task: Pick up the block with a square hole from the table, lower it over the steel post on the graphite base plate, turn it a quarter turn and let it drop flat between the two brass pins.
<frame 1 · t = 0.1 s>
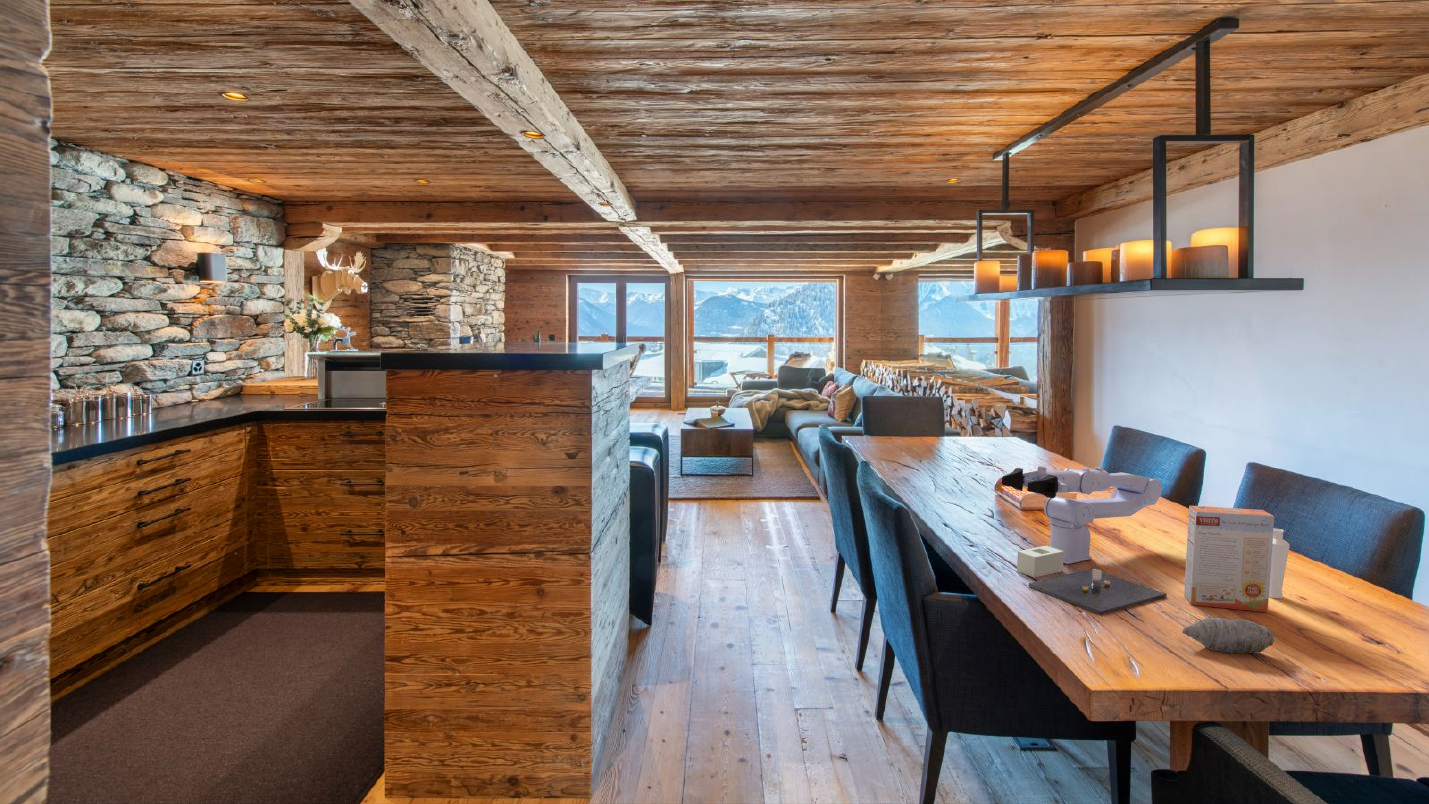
hand: (1015, 483, 173), 22 cm above the table, fingers open, 7 cm apart
cracker box: (1223, 605, 153), on the table
block with square hole: (1039, 571, 174), on the table
white plastic bottle: (1273, 596, 157), on the table
seashell: (1226, 652, 131), on the table
stand: (1095, 591, 160), on the table
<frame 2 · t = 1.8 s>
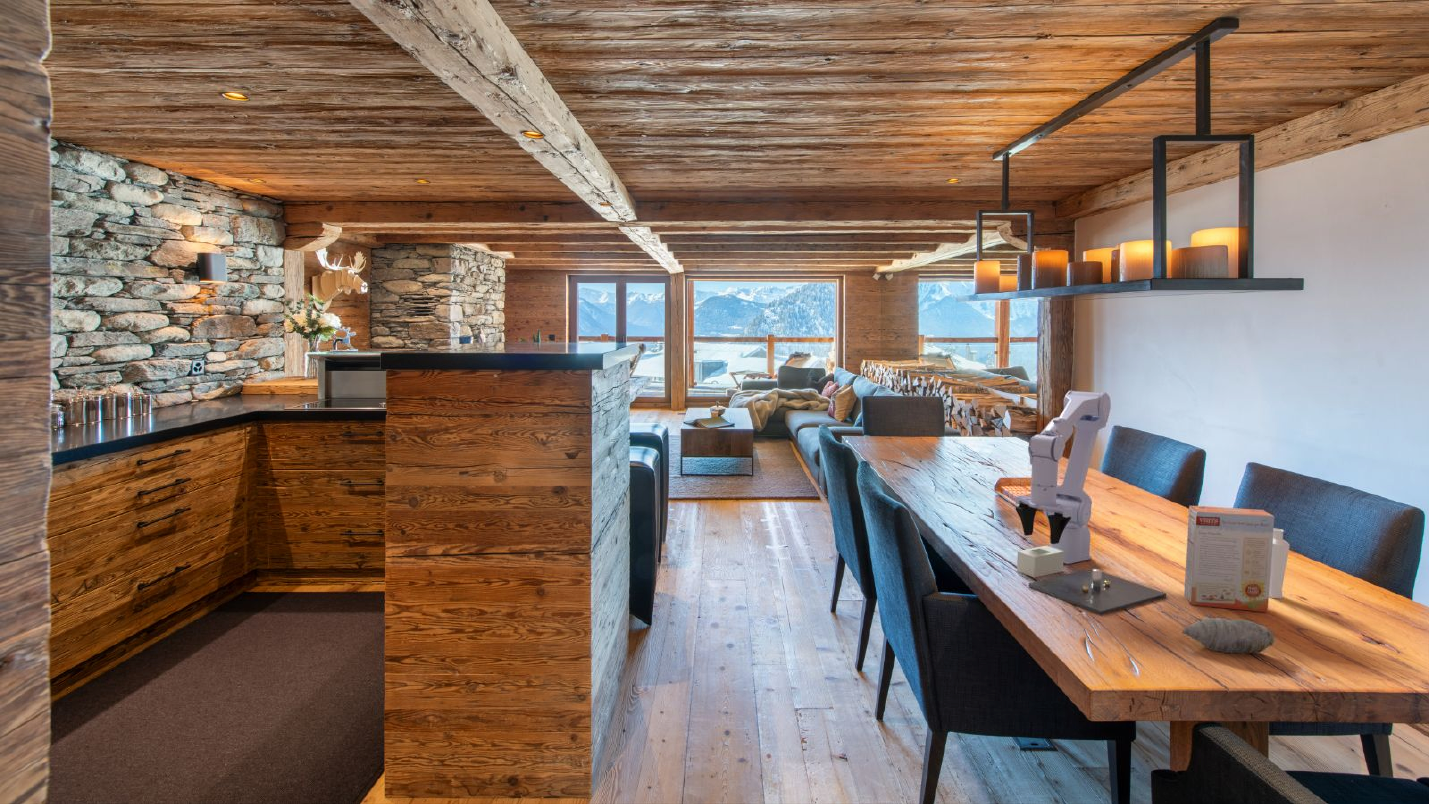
hand: (1041, 539, 173), 8 cm above the table, fingers open, 7 cm apart
nothing on the table moved.
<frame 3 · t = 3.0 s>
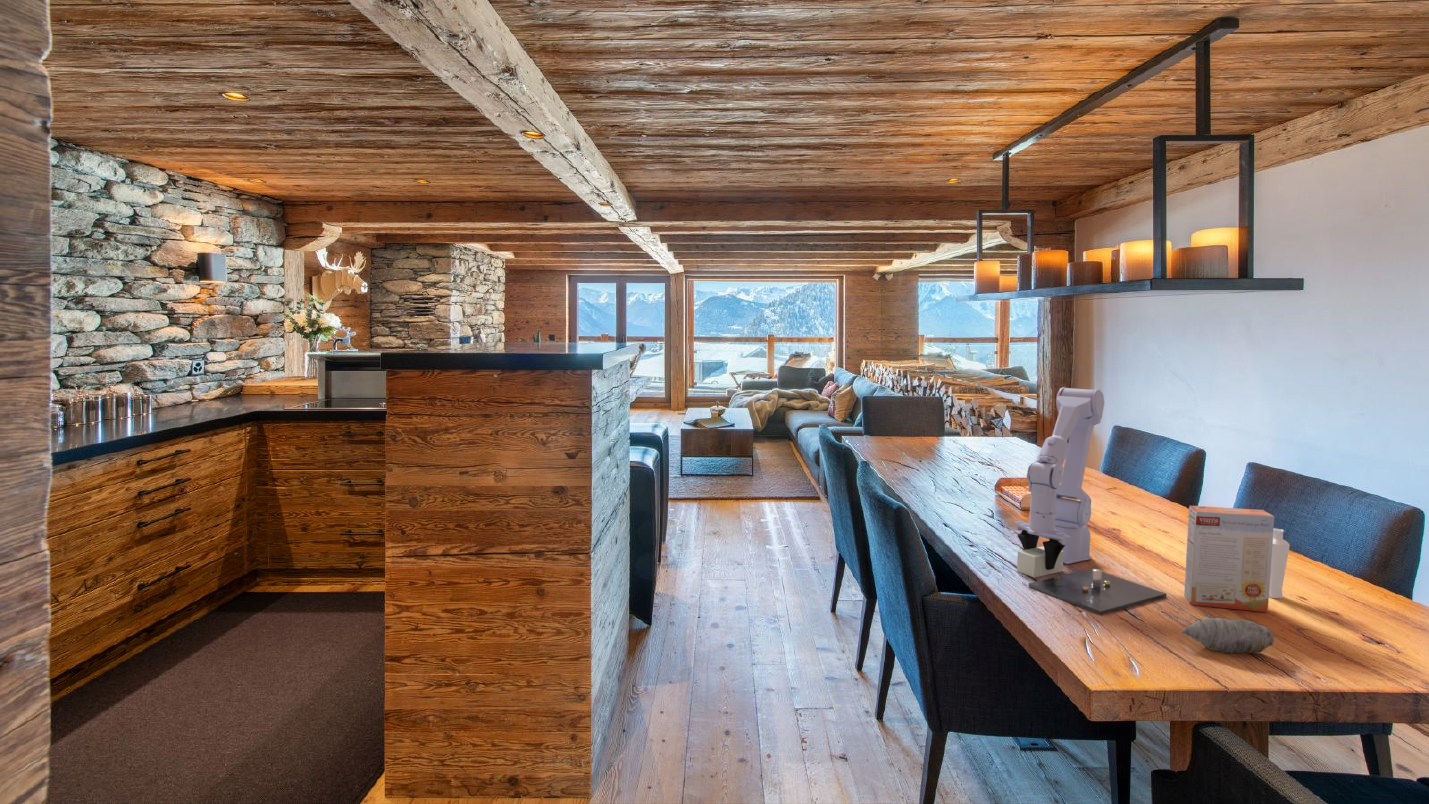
hand: (1040, 565, 173), 1 cm above the table, fingers closed on block with square hole, 5 cm apart
block with square hole: (1039, 571, 174), on the table, touching gripper
everything else where it was.
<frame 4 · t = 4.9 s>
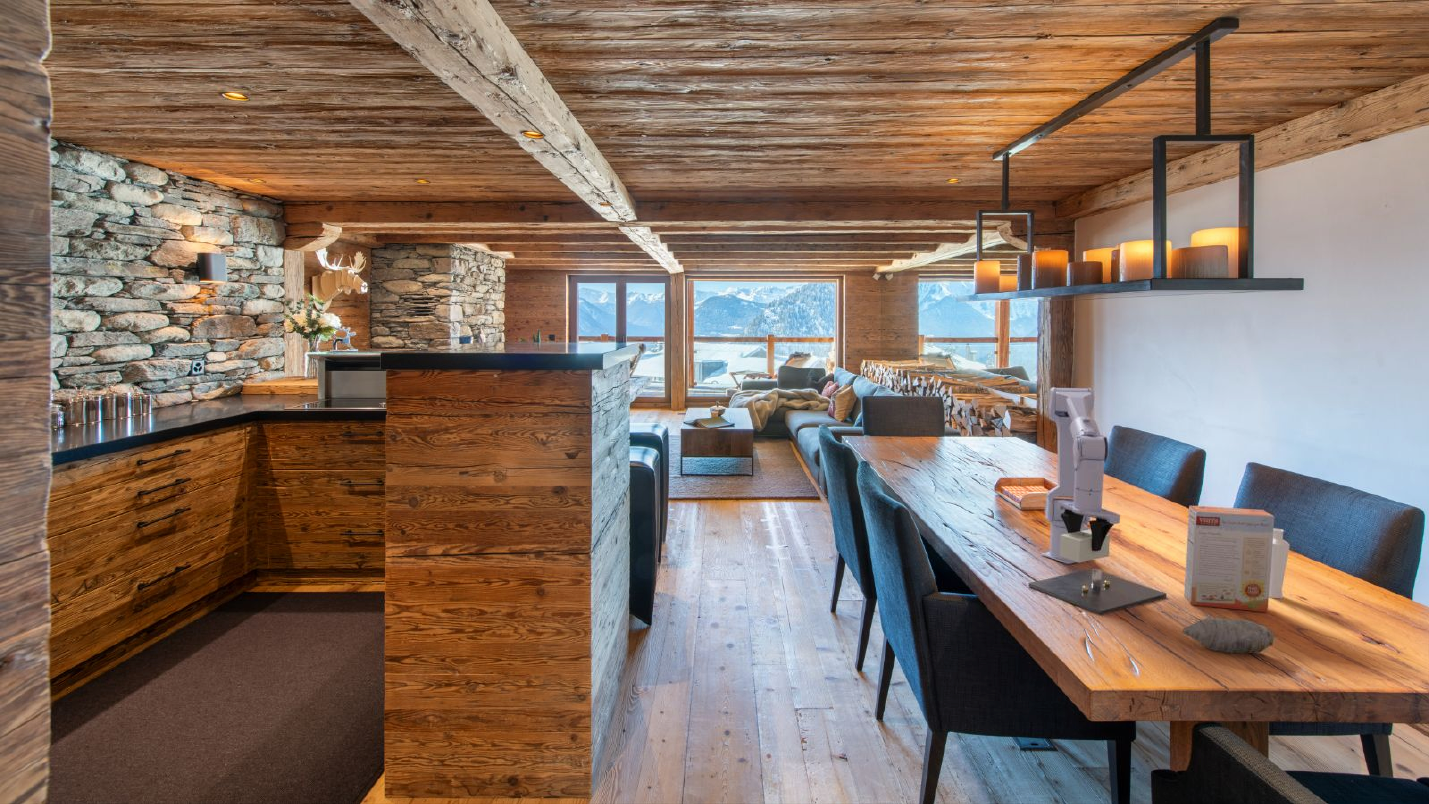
hand: (1085, 547, 162), 10 cm above the table, fingers closed on block with square hole, 5 cm apart
block with square hole: (1084, 556, 162), point 7 cm above the table, touching gripper
everything else where it was.
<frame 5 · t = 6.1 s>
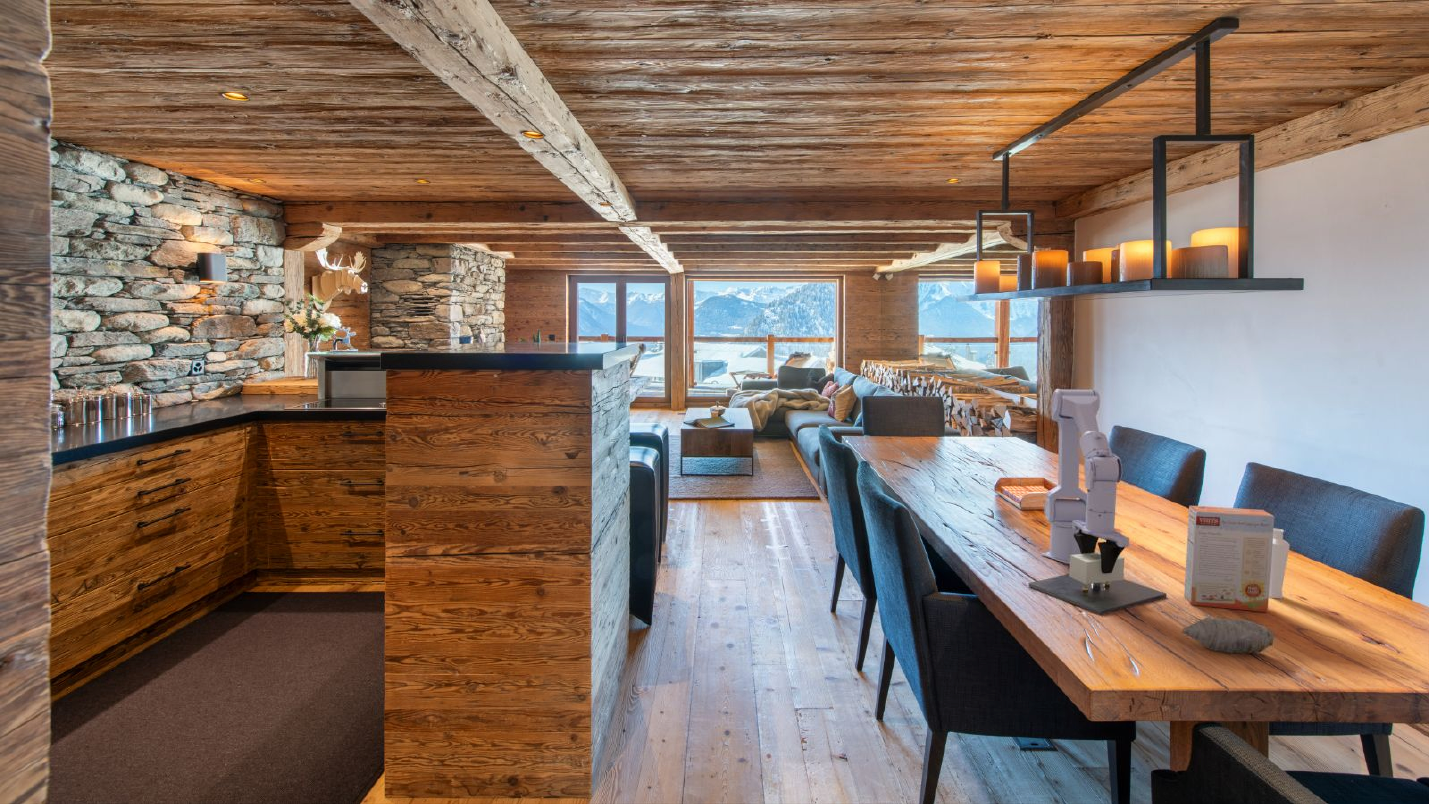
hand: (1097, 568, 160), 5 cm above the table, fingers closed on block with square hole, 5 cm apart
block with square hole: (1095, 578, 160), point 3 cm above the table, touching gripper
everything else where it was.
when the fingers open (4 cm above the table, at t = 7.0 s): block with square hole stays where it is, resting on stand.
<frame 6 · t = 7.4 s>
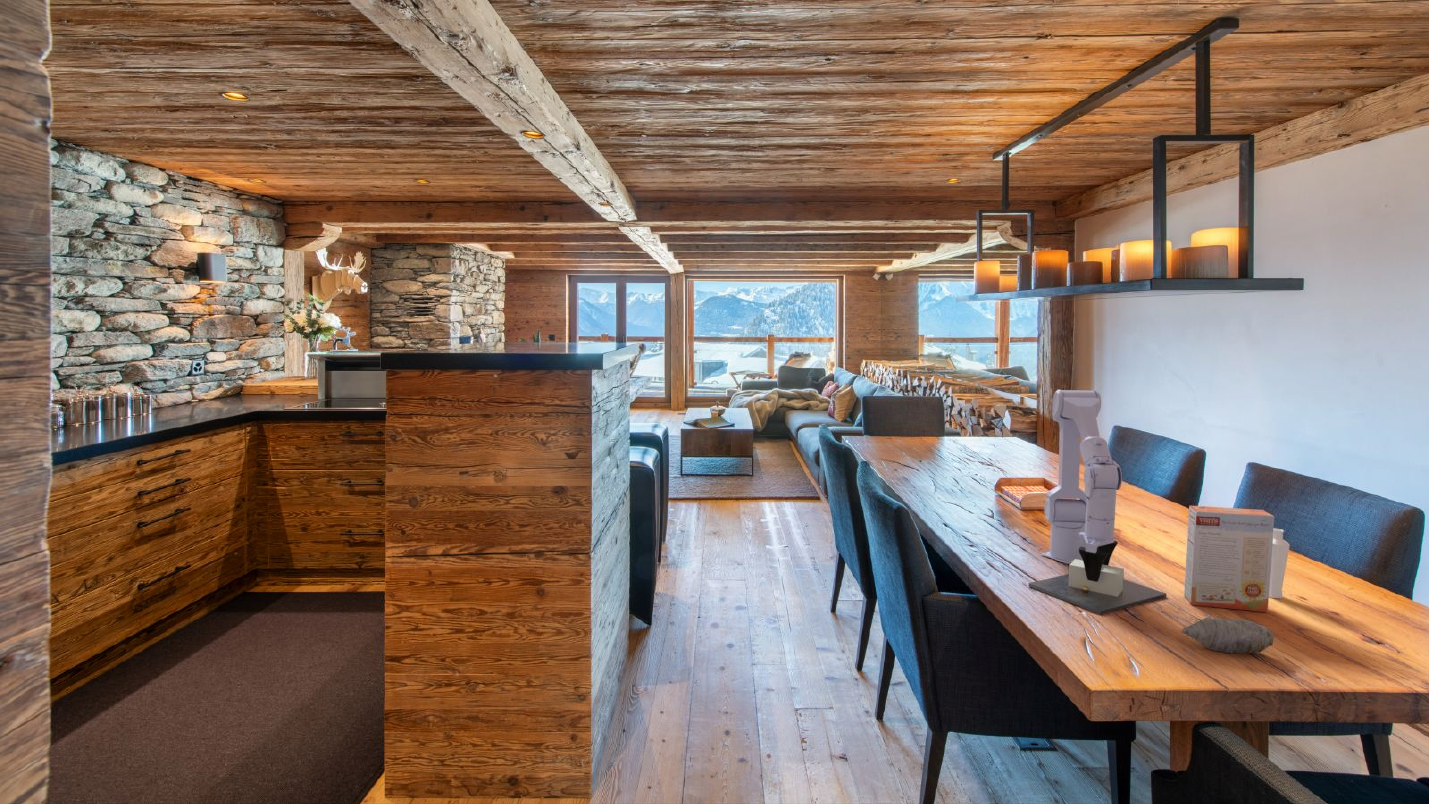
hand: (1096, 575, 160), 4 cm above the table, fingers open, 7 cm apart
block with square hole: (1095, 588, 160), point 1 cm above the table, touching stand
everything else where it was.
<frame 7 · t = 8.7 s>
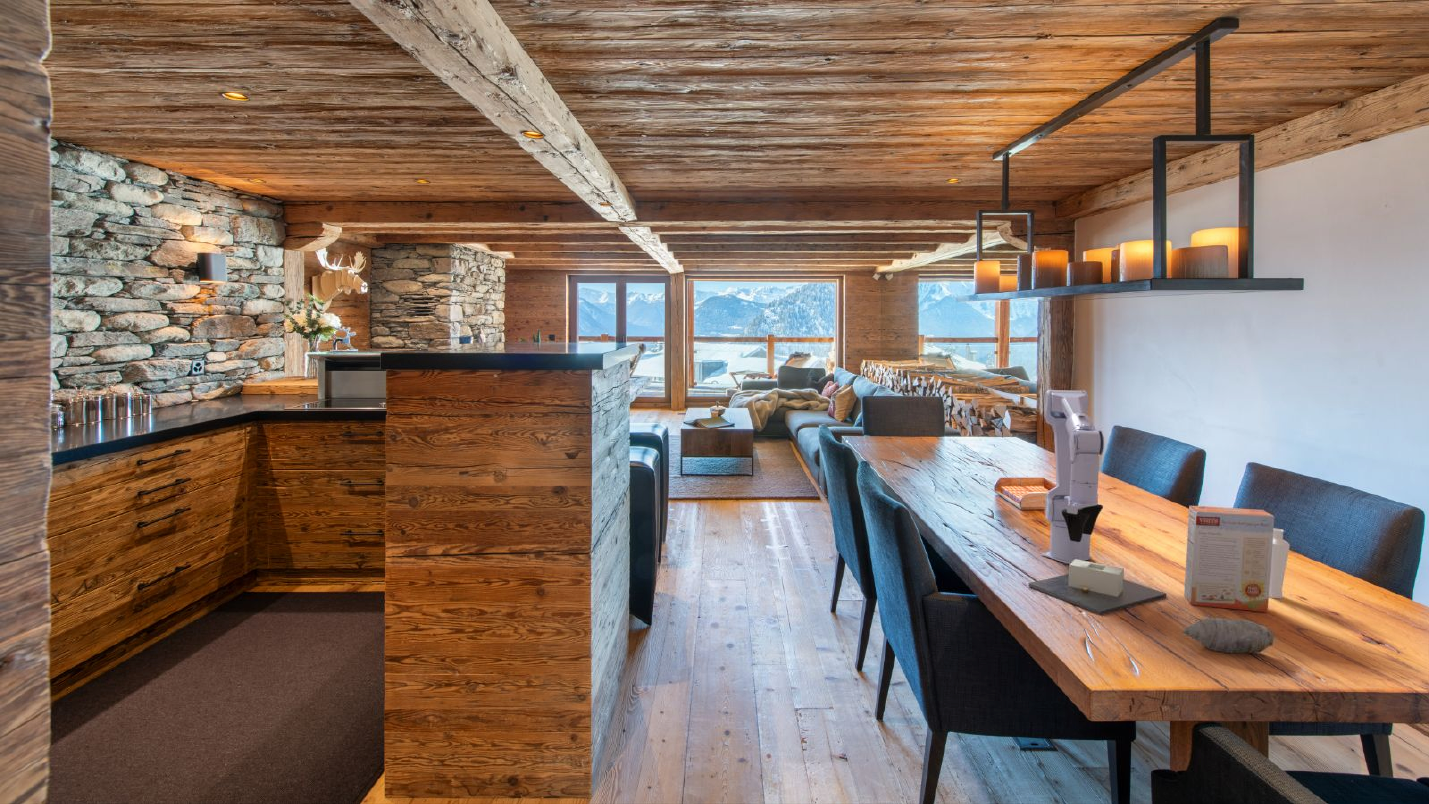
hand: (1080, 537, 167), 10 cm above the table, fingers open, 7 cm apart
nothing on the table moved.
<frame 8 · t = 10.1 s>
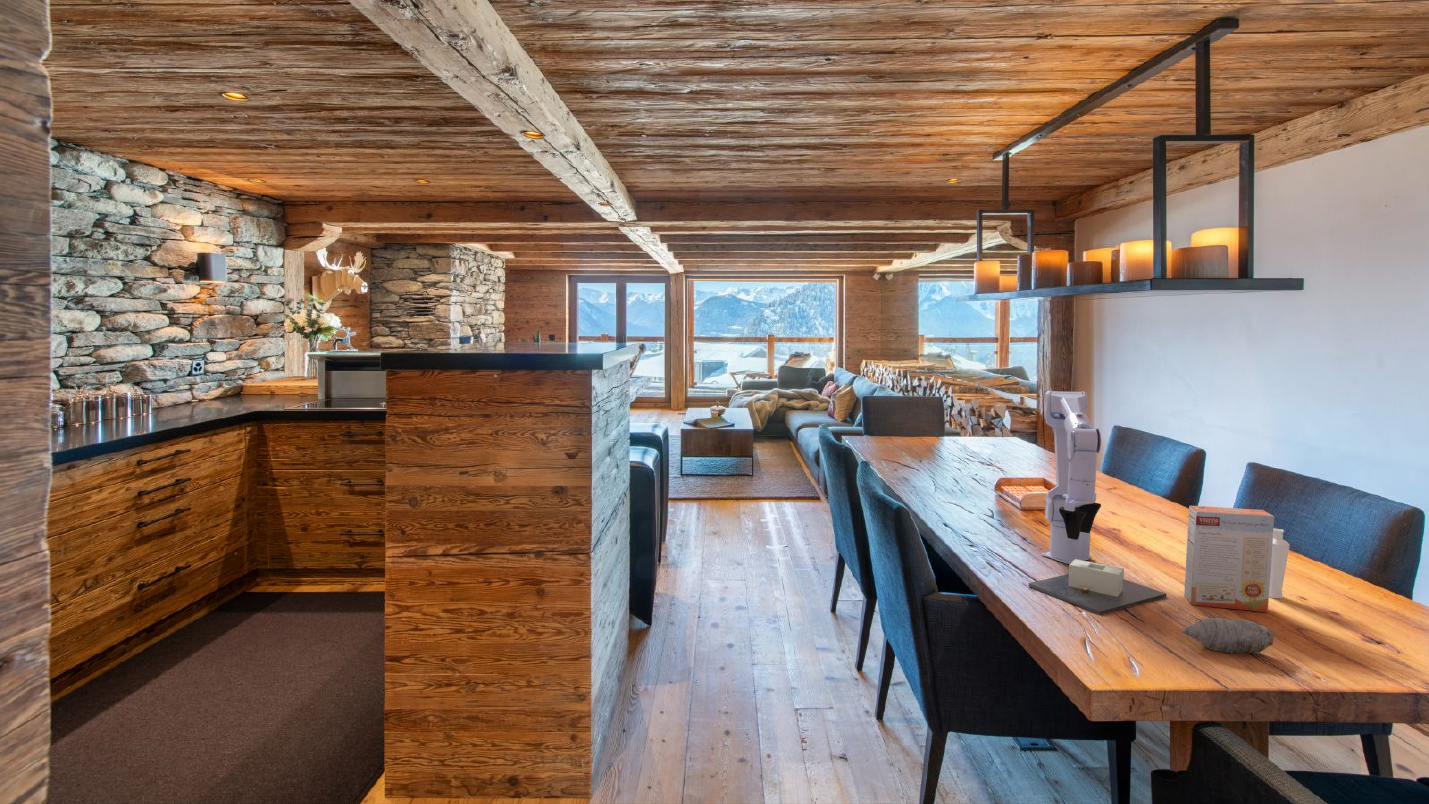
hand: (1078, 535, 168), 10 cm above the table, fingers open, 7 cm apart
nothing on the table moved.
at the end: block with square hole 0.2 cm off-centre on the stand, point 0.8 cm above the stand's base; block with square hole tilted 0°; the gripper is holding nothing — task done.
